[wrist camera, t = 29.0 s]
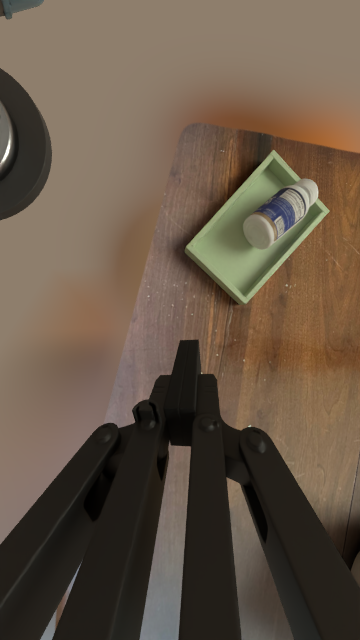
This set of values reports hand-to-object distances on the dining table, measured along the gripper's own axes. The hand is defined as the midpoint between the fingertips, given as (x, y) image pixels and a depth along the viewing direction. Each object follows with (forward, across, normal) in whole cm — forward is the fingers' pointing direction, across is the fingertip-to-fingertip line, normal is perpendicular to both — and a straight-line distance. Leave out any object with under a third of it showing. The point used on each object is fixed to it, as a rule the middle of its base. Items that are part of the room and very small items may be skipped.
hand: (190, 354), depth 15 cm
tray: (+21, +10, +9) cm, 25 cm away
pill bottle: (+17, +9, +9) cm, 21 cm away
